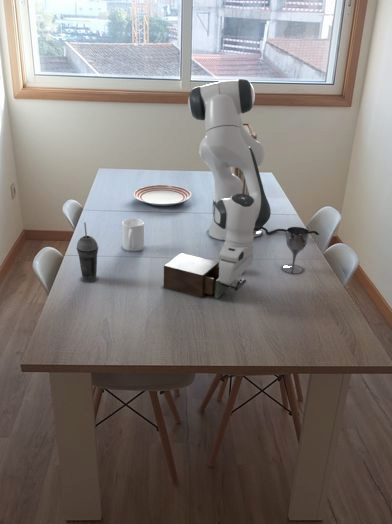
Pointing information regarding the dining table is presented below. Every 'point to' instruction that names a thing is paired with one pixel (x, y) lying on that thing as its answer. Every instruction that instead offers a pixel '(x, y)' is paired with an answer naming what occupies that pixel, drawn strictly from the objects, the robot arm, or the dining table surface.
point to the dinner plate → (162, 195)
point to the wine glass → (295, 245)
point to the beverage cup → (88, 256)
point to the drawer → (217, 284)
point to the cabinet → (187, 274)
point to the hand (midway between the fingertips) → (235, 286)
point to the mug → (133, 234)
